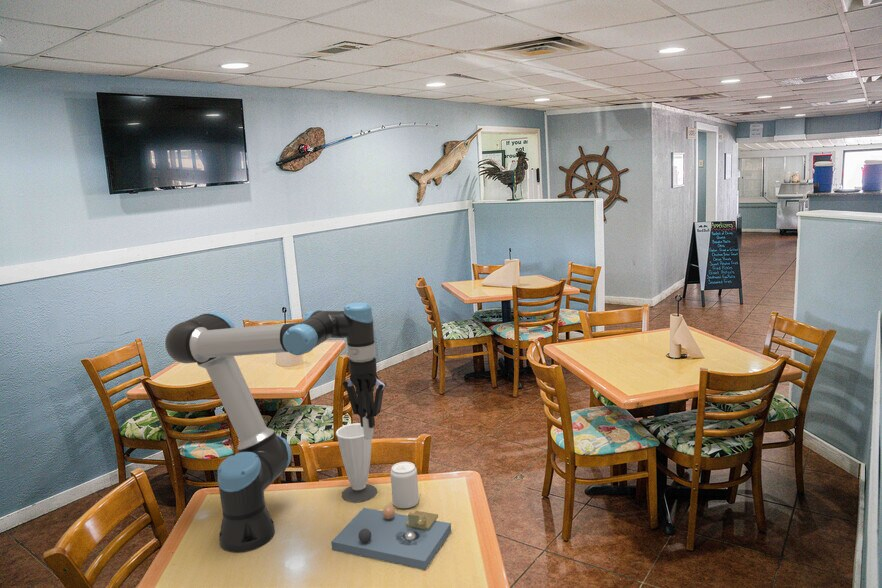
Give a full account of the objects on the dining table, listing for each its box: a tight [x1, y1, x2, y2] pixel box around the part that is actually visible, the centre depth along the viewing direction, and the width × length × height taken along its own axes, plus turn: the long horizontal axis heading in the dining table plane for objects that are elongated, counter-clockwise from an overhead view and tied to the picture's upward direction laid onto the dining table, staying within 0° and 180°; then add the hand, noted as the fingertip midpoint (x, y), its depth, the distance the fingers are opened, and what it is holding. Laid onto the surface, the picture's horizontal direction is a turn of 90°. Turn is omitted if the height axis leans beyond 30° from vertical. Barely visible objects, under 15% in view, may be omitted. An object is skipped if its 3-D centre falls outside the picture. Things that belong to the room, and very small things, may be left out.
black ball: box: [358, 529, 371, 542], centre depth 166 cm, size 4×4×4 cm
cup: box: [335, 422, 378, 504], centre depth 194 cm, size 12×12×22 cm
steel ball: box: [404, 531, 417, 541], centre depth 168 cm, size 4×4×4 cm
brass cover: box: [406, 510, 439, 530], centre depth 173 cm, size 7×7×4 cm
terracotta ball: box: [382, 506, 396, 519], centre depth 176 cm, size 4×4×4 cm
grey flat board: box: [331, 507, 452, 571], centre depth 170 cm, size 28×18×2 cm, turn 68°
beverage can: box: [390, 461, 420, 509], centre depth 188 cm, size 8×8×12 cm
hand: (368, 437), depth 175 cm, fingers closed
